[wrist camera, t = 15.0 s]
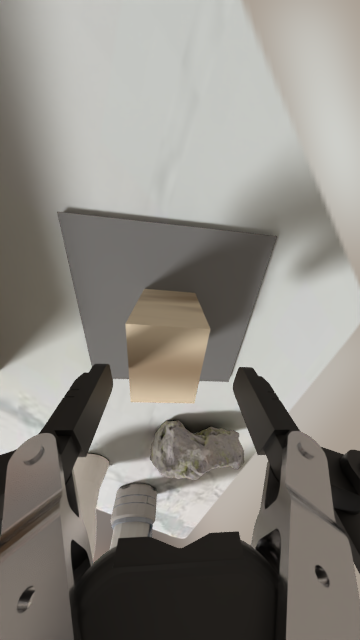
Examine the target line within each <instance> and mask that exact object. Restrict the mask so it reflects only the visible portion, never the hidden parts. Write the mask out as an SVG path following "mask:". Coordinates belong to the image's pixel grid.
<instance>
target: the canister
mask: <svg viewBox="0 0 360 640" xmlns="http://www.w3.org/2000/svg"><path fill="white" fill-rule="evenodd" d="M156 498H157V491H156V489H155V488H153V487H151V486H150V485H148V484H141V483H134V484H131V485H127V486H122V487H121V488H120V489H119V490H118V491H117V494H116V499H115V503H114V507H113V512H112V517H111V524H112V529H113V536H112V541H111V545H110V549H112V548H114V547H116V546H117V542H118V538H130V537H148V536H149V537H152V526H153V523H154V521H155V515H156Z"/></svg>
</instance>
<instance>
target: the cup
mask: <svg viewBox="0 0 360 640" xmlns="http://www.w3.org/2000/svg"><path fill="white" fill-rule="evenodd" d="M108 466H109V461H108V460H107V459H106V458H104V457H102V456H100V455H96V454H87V456H86V457H78V458H77V460H76V462H75V465H74V467H73V469H74V475H75V480H76V486H77V491H78V497H79V502H80V508H81V513H82V518H83V521H84V524H85V527H86V530H87V534H88V538H89V543H90V548H91V553H92V559H93V558H94V554H95V544H96V532H97V525H96V505H97V500H98V495H99V489H100V487H101V484H102V482H103V479H104V477H105V474H106V472H107V469H108ZM30 604H31V602H29V603H28V607H29V606H30Z"/></svg>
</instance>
